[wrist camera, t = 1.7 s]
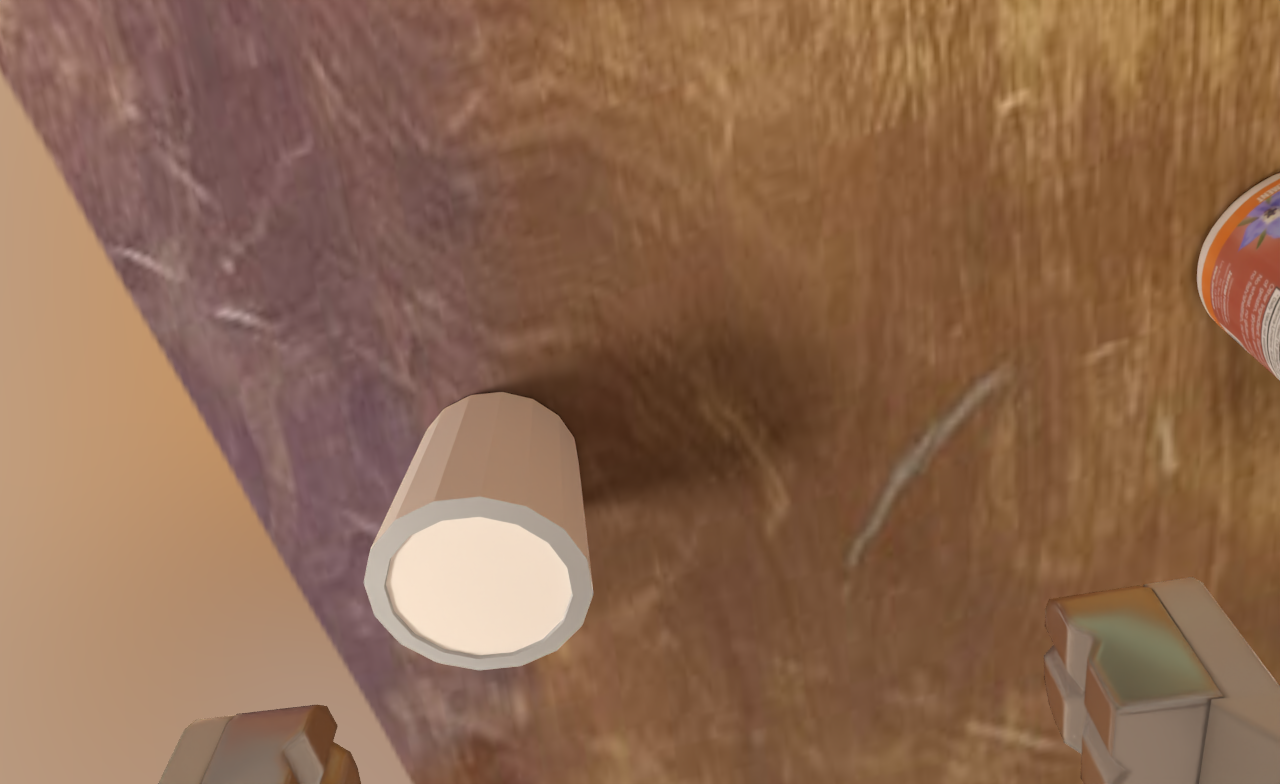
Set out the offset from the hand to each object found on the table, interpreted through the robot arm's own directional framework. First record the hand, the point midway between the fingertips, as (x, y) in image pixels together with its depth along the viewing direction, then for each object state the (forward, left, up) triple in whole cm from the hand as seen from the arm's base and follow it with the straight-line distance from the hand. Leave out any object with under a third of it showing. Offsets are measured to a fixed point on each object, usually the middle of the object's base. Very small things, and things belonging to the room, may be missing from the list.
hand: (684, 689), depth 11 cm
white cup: (-5, -12, -22) cm, 26 cm away
